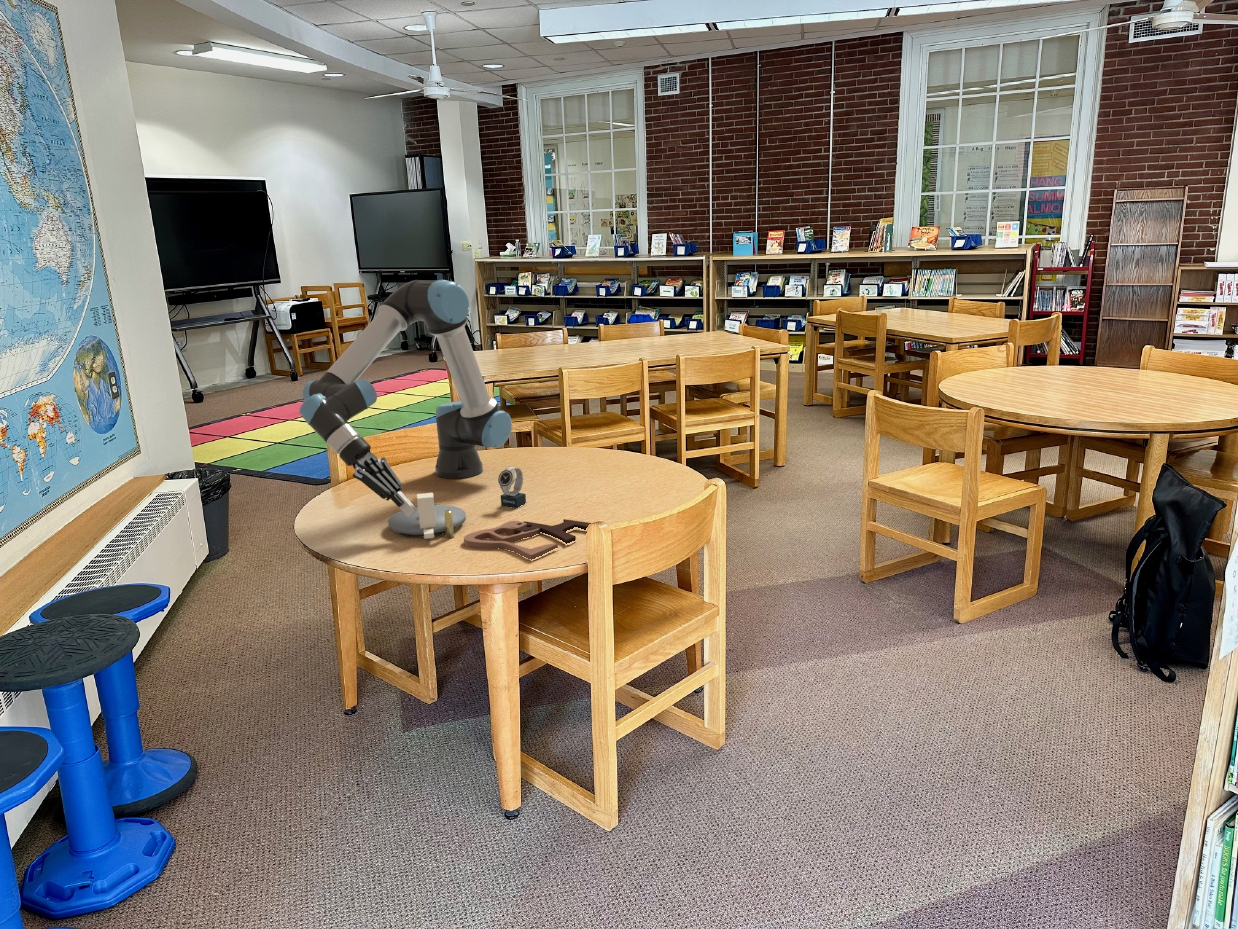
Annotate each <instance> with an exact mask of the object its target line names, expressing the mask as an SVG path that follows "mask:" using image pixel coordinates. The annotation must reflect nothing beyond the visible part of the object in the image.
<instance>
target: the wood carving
mask: <svg viewBox="0 0 1238 929" xmlns="http://www.w3.org/2000/svg"><path fill="white" fill-rule="evenodd" d="M591 523H592V522H588V521H582V520H581V521H580V520H574V519H566V518H563V522H561V523H558V524H554V525H549V524H545V523H544V524H543V523H538V522H532V521H519V520H509V521H507V522H504V523H503V524H501V525H499V526H497V527H492V528H486V529H481V530H477V531H473V532H469V533H468V534H466V535H465V536H464V537H463V545H464V546H465V547H467V548H472V549H481V550H504V549H507V550H506V551H508V550H510V551H514V552H515V553H518V554H520V555H521V556H524V557H526V558H528V559H531V560H532V559H535V558H536V557H539V556H542V555H543V554H545V553H547V552H549V551H551V550H553V549H555V548H558V549H559V544H558V543H548V544H544V545H539V546H536V547H532V548H528V547H526V546H525V547H524V546H521V545H518V544H515V543H516V542H515V541H518V540H521V539H523V538H527V537H532V536H534V535H536V534H539V533H540V532H542V533H545V534H548V535H551V536H553V537H555V538H558V539H560V540H562V541H563V542H565V543H566V544H567V543H570V542H572V541H575V540H576V539H577V537H576V535H575V534H571V533H566V531H567V530H570V529H573V528H574V527H578V528H581V529H584V530H586V528H587V527H588V525H589V524H591ZM503 533H506V534H505V535H508V536H504V534H503ZM499 534H500V535H499ZM512 534H514V535H512ZM486 538H489V539H488V540H487V539H486ZM491 539H492V540H491ZM493 540H494V541H493ZM576 541H577V540H576ZM511 542H514V543H511ZM518 542H519V541H518ZM498 548H499V549H498ZM510 551H509V552H510ZM515 553H514V554H515ZM521 556H520V557H521Z"/></svg>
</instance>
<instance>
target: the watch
mask: <svg viewBox="0 0 1238 929" xmlns="http://www.w3.org/2000/svg"><path fill="white" fill-rule="evenodd" d="M515 473H516V475H515ZM497 479H498V480H497V481H498V482H497V483H498V485H499V488H500V489H501V491H502V494H501V495H500V506H501V507H505V508H510V507H512V508H511V509H516V508H517V509H519V508H521V507H522V506H521V505H523V506H525V505H524V504H525V503H526V504H527V498H526V495H527V494H526V493H523V492H521V490H522V488H523V484H524V474H523V471H522V470H521V468H520V467H517V466H515V467H514V466H508V467H506V468H504V470H503V471H501V472H500V474H498V478H497ZM513 484H514V485H513ZM512 486H513V490H511V489H512ZM510 490H511V491H510ZM520 506H521V507H520ZM518 507H519V508H518Z"/></svg>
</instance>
